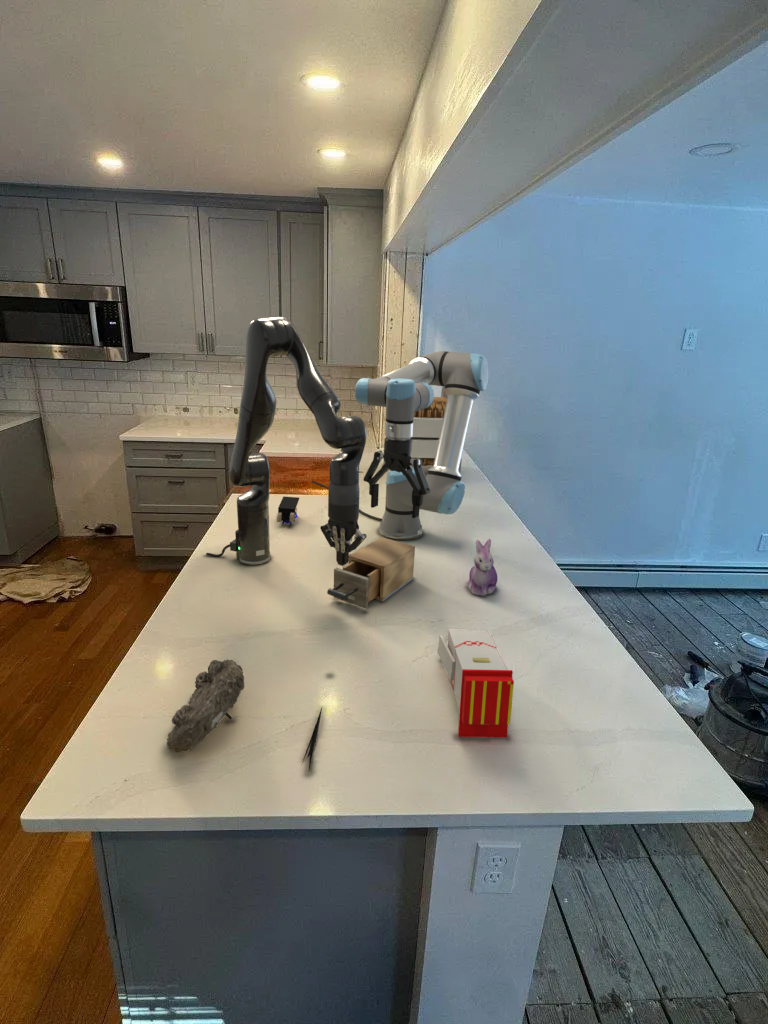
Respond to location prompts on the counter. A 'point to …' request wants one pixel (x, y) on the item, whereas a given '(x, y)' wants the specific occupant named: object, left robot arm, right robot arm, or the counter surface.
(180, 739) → the fossil
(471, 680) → the toy
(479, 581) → the figurine
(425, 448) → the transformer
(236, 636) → the counter surface
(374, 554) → the cabinet
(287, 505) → the figurine character
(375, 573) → the drawer
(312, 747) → the feather
